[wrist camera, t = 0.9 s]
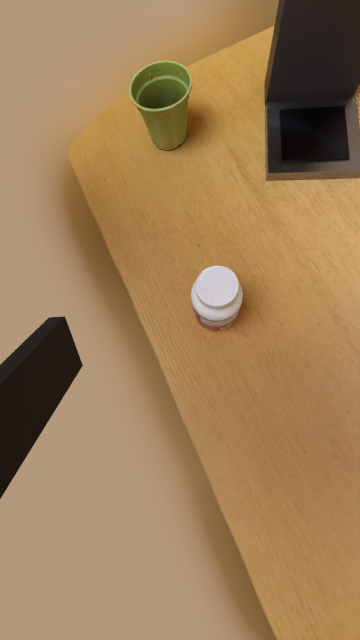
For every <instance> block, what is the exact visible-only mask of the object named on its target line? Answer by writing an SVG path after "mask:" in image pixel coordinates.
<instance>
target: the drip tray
mask: <svg viewBox="0 0 360 640" xmlns="http://www.w3.org/2000/svg"><path fill="white" fill-rule="evenodd" d="M265 146H266V180H300V179H333V178H359V177H360V128H359V119H358V110H357V101H356V97H347V98H332V99H316V100H300V101H284V102H269V103H266V108H265Z"/></svg>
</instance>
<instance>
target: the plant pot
mask: <svg viewBox="0 0 360 640" xmlns="http://www.w3.org/2000/svg"><path fill="white" fill-rule="evenodd" d="M191 88H192V77H191V74H190V72H189V70H188V69H187V68H186V67H185V66H184V65H182V64H179V63H177V62H174V61H158V62H154V63H151V64H149V65H147V66H145V67H143V68H142V69H141V70H139V71H138V72H137V73H136V74H135V75H134V77H133V78H132V80H131V83H130V86H129V95H130V98H131V100H132V102H133V103H134V105H135V106H136V107H137V108H138V110H139V111H140V112H141V114H142V117H143V119H144V121H145V124H146V126H147V128H148V131H149V133H150V136H151V138H152V141H153V143H154V144H155V145H156V146H157V147H158V148H160V149H162V150H172V149H175V148H176V147H177V146H178V145H180V144H182V143H183V142H184V141H185V139H186V135H187V104H188V98H189V93H190V91H191Z"/></svg>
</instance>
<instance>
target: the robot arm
mask: <svg viewBox="0 0 360 640" xmlns="http://www.w3.org/2000/svg"><path fill="white" fill-rule="evenodd" d="M81 367H82V362H81V360H80V357H79V354H78V351H77V349H76V346H75V343H74V340H73V338H72V335H71V332H70V329H69V327H68V324H67V321H66V318H65V317H52V318H48V319H47V320H46V321H45V322H44V323H43V324H42V325H41V326H40V327H39V328H38V329H37V330H36V331H35V332H34V333H33V334H32V335H31V336H29V337H28V338H27V339H26V340H25V341H24V342H23V343H22V344H21V345H20V346H19V347H18V348H17V349H16V350H15V351H14V352H13V353H12V354H11V355H10V356H9V357H8V358H7V359H6V360H5V361H4V362H3V363H2V364H1V365H0V498H1V497H2V495H3V493H4V492H5V490H6V489H7V487H8V485H9V484H10V482H11V481H12V479H13V477H14V476H15V474H16V473H17V471H18V469H19V468H20V466H21V464H22V463H23V461H24V460H25V458H26V456H27V455H28V453H29V451H30V450H31V448H32V447H33V445H34V443H35V442H36V440H37V438H38V437H39V435H40V434H41V432H42V430H43V429H44V427H45V426H46V424H47V422H48V421H49V419H50V417H51V416H52V414H53V413H54V411H55V409H56V408H57V406H58V405H59V403H60V401H61V400H62V398H63V396H64V395H65V393H66V392H67V390H68V388H69V387H70V385H71V383H72V382H73V380H74V379H75V377H76V375H77V374H78V372H79V371H80V369H81Z"/></svg>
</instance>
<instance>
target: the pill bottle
mask: <svg viewBox="0 0 360 640" xmlns="http://www.w3.org/2000/svg"><path fill="white" fill-rule="evenodd" d="M242 299H243V292H242V288H241V285H240V283H239V282H238V279H237V276H236V275H235V273H234V272H233V271H232V270H230V269H229V268H227V267H224V266H211V267H208V268H206V269H205V270H203V271H202V272H201V273H200V274H199V276H198V278H197V280H196V281H195V283H194V284H193V287H192V290H191V302H192V306H193V310H194V314H195V317H196V319H197V321H198V323H199V324H200V325H201V326H202V327H203V328H205V329H206V330H209V331H214V332H218V331H223V330H225V329H227V328H229V327H230V326H231V325H232V324H233V323H234V321H235V320H236V317H237V315H238V312H239V309H240V306H241V303H242Z"/></svg>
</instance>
